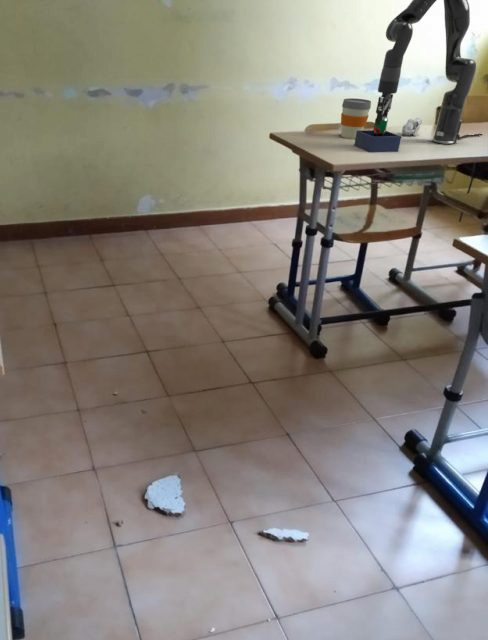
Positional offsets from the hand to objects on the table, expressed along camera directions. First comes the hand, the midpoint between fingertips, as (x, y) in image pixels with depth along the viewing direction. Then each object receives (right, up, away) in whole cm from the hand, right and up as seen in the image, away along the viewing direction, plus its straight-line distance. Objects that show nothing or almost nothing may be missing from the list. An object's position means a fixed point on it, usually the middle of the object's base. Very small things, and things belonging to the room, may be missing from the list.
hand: (380, 123), depth 252 cm
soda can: (0, -8, +6) cm, 10 cm away
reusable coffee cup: (-6, +5, +25) cm, 26 cm away
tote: (0, -8, +6) cm, 10 cm away
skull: (+25, +10, +33) cm, 43 cm away
